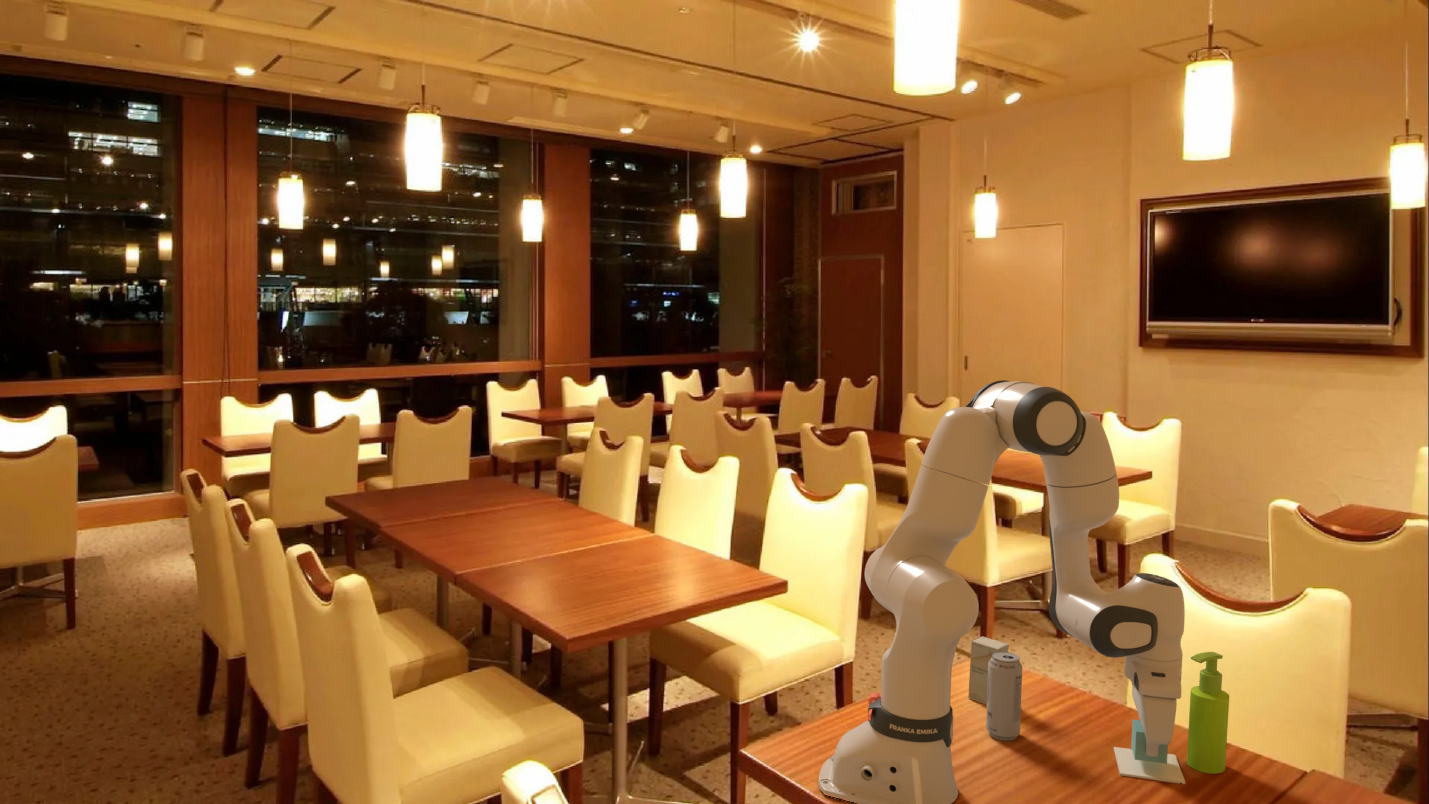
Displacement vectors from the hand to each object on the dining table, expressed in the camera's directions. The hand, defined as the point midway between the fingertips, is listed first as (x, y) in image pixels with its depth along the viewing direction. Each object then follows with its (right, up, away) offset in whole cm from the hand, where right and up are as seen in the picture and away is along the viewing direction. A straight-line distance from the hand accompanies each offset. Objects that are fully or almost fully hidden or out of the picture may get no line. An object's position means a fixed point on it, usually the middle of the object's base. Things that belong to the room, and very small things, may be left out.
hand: (1148, 746), depth 163 cm
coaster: (0, -4, 0) cm, 4 cm away
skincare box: (-20, -1, +27) cm, 34 cm away
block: (0, -2, 0) cm, 2 cm away
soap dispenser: (+10, -4, 0) cm, 10 cm away
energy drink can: (-21, -3, +12) cm, 25 cm away
